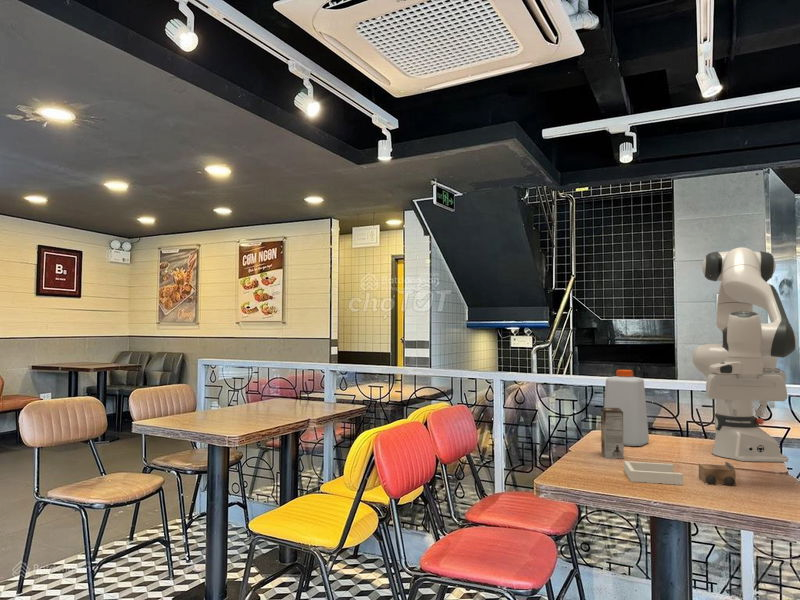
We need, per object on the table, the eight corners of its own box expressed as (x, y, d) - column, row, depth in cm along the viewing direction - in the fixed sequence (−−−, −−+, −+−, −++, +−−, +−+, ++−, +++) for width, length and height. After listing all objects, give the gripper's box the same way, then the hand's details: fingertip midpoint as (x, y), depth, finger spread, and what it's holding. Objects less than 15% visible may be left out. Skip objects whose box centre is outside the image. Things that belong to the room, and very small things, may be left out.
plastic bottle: (612, 437, 231) (611, 368, 232) (651, 442, 221) (650, 370, 223) (598, 443, 219) (598, 370, 221) (639, 448, 210) (638, 372, 211)
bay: (672, 473, 173) (672, 463, 173) (683, 485, 160) (682, 474, 160) (624, 470, 176) (624, 461, 176) (630, 481, 163) (630, 471, 164)
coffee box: (600, 452, 202) (600, 407, 203) (619, 453, 201) (619, 407, 202) (604, 458, 193) (604, 410, 194) (624, 459, 192) (624, 411, 193)
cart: (727, 480, 167) (727, 461, 167) (736, 486, 159) (736, 467, 160) (698, 478, 168) (697, 459, 169) (705, 484, 161) (704, 465, 162)
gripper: (781, 367, 164) (782, 416, 164) (703, 366, 169) (704, 412, 169) (790, 369, 158) (792, 419, 158) (709, 367, 163) (710, 416, 162)
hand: (746, 416), depth 163 cm, fingers open, 5 cm apart
